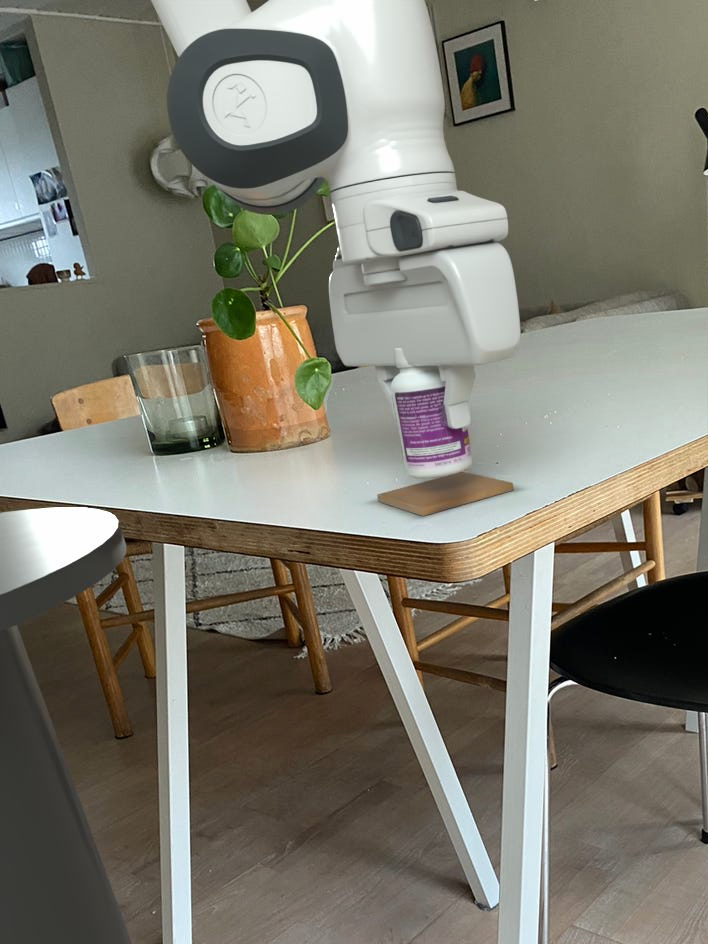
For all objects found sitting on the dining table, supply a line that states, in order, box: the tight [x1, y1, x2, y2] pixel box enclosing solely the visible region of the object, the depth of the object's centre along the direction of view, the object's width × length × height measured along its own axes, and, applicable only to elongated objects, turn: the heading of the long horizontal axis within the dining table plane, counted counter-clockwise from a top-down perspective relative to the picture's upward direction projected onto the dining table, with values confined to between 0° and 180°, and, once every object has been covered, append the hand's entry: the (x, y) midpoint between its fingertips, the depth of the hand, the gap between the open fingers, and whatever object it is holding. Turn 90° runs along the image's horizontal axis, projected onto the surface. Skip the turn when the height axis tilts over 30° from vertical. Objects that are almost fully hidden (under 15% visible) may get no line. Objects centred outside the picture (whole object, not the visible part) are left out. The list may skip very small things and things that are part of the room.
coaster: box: [376, 471, 514, 517], centre depth 73 cm, size 8×8×1 cm
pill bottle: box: [391, 348, 473, 479], centre depth 71 cm, size 5×5×10 cm
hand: (432, 425), depth 71 cm, fingers closed on pill bottle, 5 cm apart
